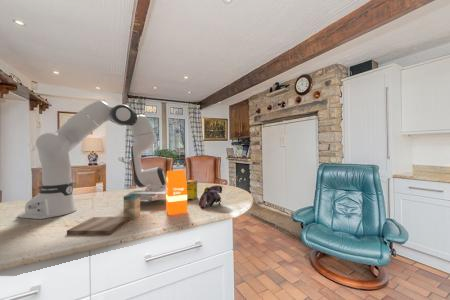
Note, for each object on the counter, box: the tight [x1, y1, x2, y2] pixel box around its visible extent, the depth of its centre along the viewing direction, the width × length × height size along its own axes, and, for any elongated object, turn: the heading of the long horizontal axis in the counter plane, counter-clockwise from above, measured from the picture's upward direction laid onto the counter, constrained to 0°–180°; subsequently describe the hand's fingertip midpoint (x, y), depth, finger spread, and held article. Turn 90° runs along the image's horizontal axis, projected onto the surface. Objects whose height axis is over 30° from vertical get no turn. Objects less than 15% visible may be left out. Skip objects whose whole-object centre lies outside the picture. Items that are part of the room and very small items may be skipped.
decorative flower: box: [198, 185, 223, 210], centre depth 109 cm, size 15×12×15 cm
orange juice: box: [165, 169, 188, 216], centre depth 100 cm, size 8×9×20 cm
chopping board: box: [66, 216, 130, 236], centre depth 81 cm, size 16×14×2 cm
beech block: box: [123, 193, 141, 220], centre depth 93 cm, size 5×5×10 cm
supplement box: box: [186, 179, 198, 201], centre depth 124 cm, size 6×6×11 cm
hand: (142, 199), depth 103 cm, fingers open, 8 cm apart
